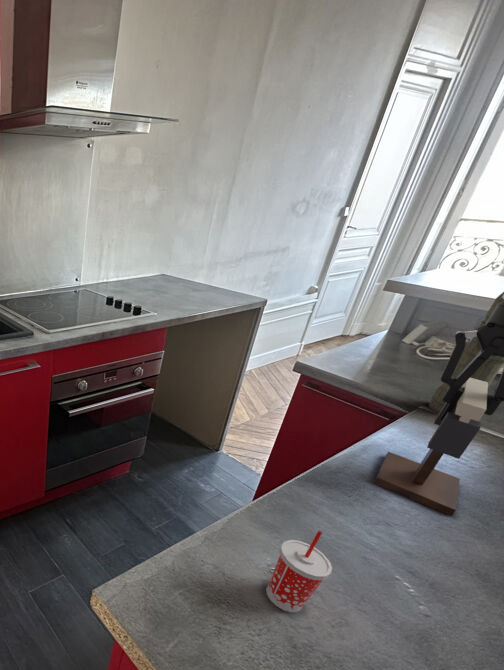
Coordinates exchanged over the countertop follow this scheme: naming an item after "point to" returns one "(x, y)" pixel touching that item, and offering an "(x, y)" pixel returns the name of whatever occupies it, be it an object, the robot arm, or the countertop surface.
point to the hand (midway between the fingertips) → (456, 421)
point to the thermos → (469, 353)
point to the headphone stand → (420, 481)
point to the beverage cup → (297, 574)
